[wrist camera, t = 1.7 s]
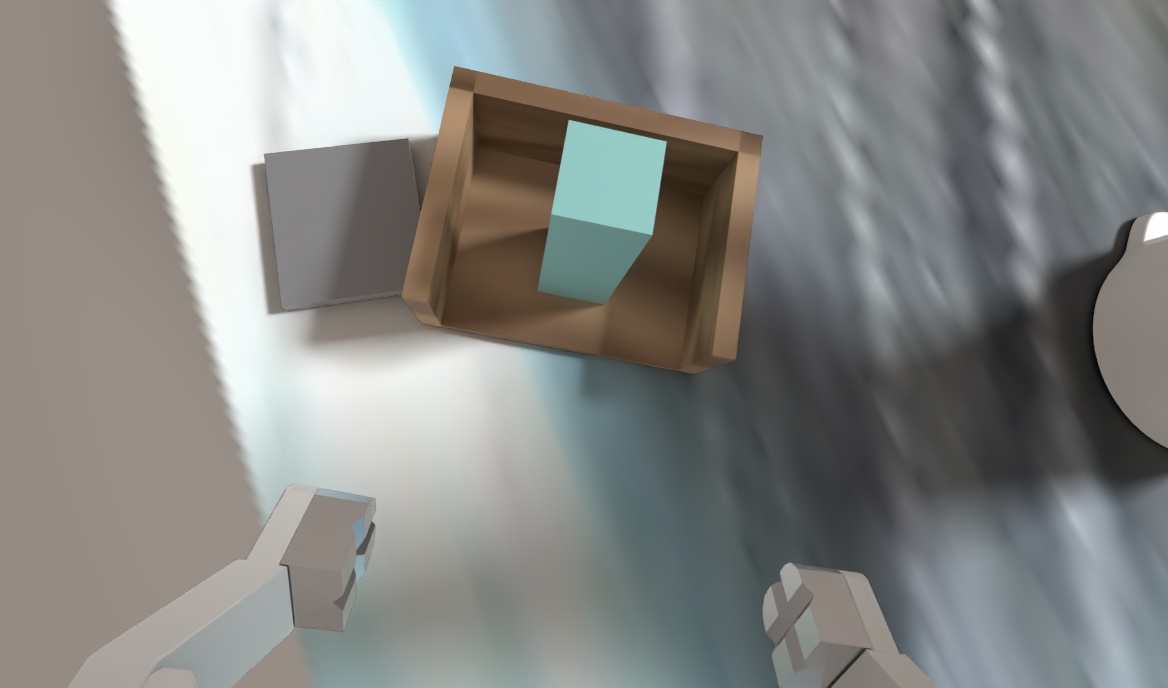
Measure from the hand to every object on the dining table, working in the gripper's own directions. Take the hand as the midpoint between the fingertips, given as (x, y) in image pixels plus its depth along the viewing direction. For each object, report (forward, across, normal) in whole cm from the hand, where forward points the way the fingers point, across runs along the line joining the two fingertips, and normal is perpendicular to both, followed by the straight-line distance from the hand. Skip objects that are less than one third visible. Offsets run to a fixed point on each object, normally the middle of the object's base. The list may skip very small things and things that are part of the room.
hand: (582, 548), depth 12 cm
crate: (+25, 0, +6) cm, 26 cm away
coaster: (+25, +13, +7) cm, 29 cm away
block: (+24, 0, +6) cm, 25 cm away
